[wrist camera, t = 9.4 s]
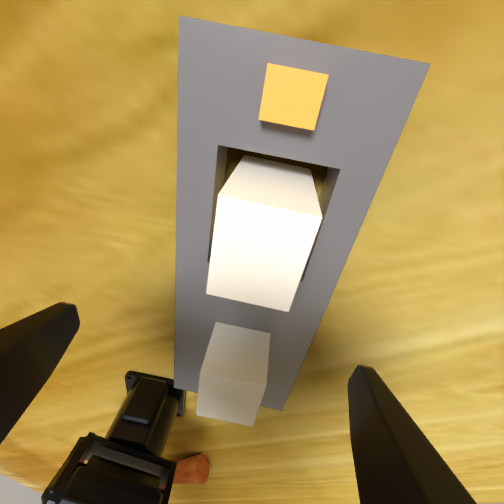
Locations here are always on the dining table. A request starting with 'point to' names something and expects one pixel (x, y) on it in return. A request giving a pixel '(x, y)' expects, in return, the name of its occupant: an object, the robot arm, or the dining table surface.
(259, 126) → the power strip
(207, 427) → the dining table surface
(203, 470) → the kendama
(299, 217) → the plug
